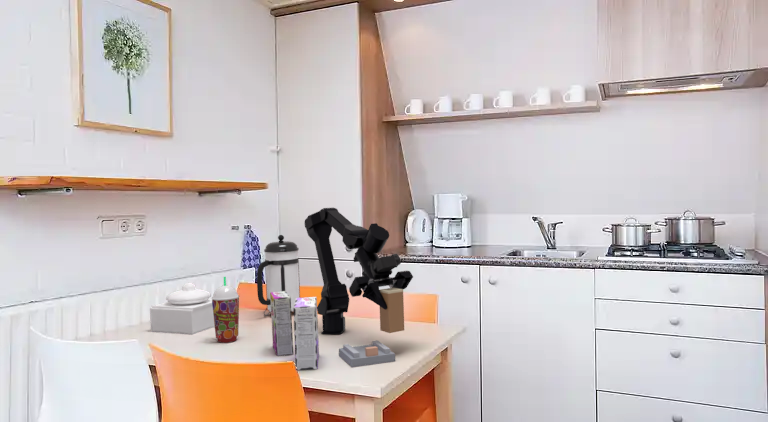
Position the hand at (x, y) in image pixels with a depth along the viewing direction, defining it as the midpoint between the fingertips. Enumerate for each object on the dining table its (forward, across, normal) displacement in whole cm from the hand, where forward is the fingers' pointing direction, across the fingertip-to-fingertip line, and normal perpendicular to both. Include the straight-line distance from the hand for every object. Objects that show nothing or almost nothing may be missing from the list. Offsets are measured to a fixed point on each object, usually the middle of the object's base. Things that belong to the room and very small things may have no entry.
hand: (394, 307), depth 162 cm
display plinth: (+8, -8, +10) cm, 15 cm away
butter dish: (-44, -34, +64) cm, 85 cm away
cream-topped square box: (+4, 0, +6) cm, 7 cm away
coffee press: (-42, 0, +61) cm, 74 cm away
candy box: (+3, -22, +16) cm, 27 cm away
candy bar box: (-8, -22, +27) cm, 36 cm away
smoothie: (-24, -30, +43) cm, 58 cm away
